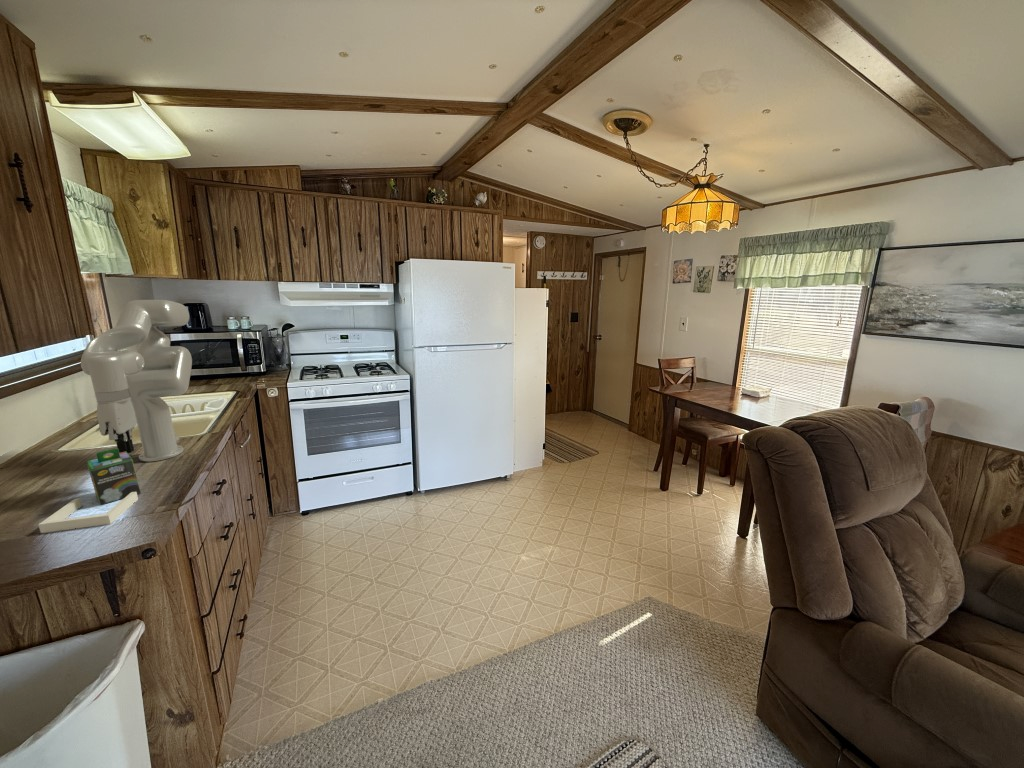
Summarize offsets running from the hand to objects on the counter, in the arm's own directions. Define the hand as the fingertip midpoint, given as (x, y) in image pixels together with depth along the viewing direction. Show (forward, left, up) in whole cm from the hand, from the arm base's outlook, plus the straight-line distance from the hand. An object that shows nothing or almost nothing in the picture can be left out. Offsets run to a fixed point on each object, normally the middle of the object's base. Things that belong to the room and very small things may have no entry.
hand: (126, 452), depth 129 cm
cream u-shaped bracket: (+19, 0, -10) cm, 22 cm away
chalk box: (+8, 0, -11) cm, 13 cm away
